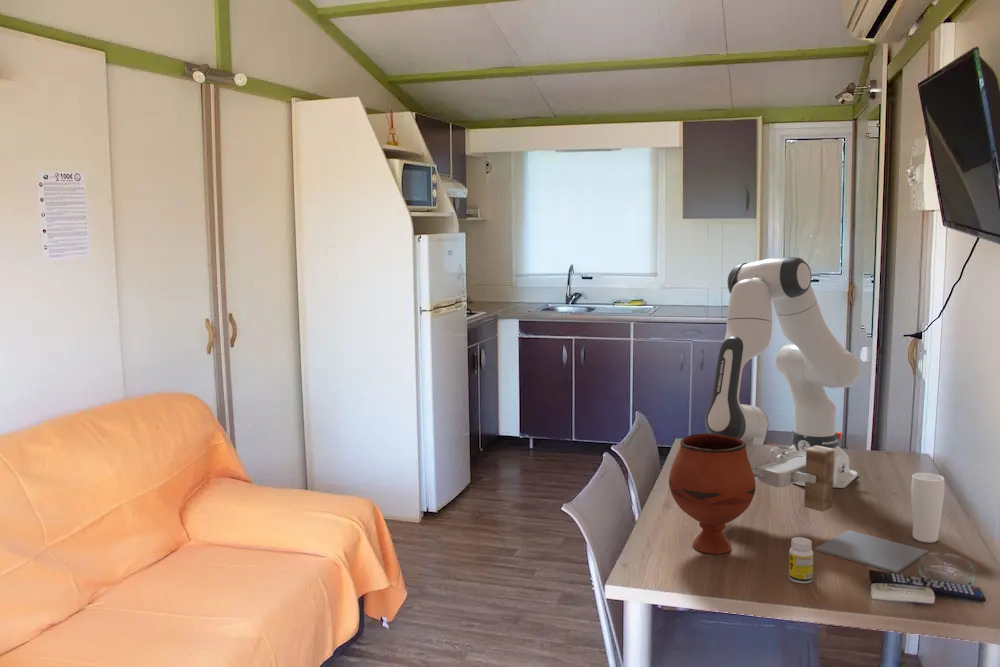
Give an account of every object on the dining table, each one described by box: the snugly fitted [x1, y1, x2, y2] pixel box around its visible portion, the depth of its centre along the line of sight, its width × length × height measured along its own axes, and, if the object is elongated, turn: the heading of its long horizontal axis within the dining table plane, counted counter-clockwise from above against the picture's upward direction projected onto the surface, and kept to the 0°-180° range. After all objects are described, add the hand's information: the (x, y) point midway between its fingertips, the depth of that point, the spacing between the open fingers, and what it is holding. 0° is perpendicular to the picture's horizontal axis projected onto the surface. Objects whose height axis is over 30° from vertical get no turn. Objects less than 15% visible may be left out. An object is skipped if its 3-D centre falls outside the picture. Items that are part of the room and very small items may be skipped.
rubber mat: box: [815, 529, 928, 574], centre depth 189 cm, size 16×18×1 cm
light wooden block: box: [803, 445, 834, 512], centre depth 196 cm, size 4×4×14 cm
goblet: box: [668, 432, 757, 555], centre depth 191 cm, size 19×19×25 cm
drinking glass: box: [910, 472, 945, 544], centre depth 194 cm, size 7×7×15 cm
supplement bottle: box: [788, 536, 814, 584], centre depth 174 cm, size 5×5×8 cm
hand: (822, 476), depth 195 cm, fingers closed on light wooden block, 4 cm apart
